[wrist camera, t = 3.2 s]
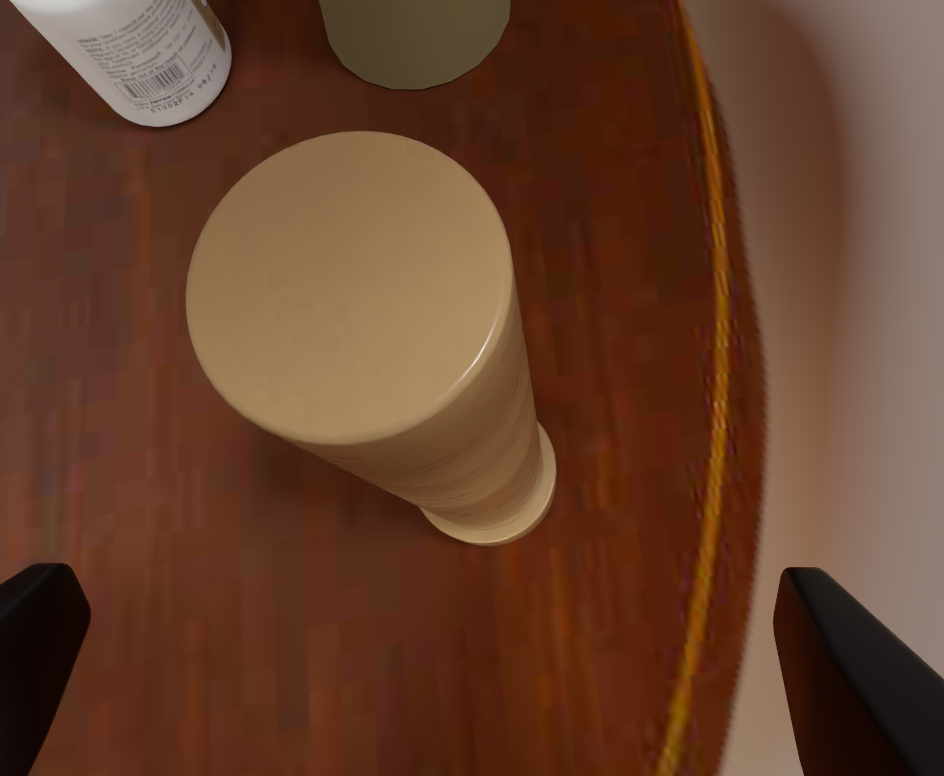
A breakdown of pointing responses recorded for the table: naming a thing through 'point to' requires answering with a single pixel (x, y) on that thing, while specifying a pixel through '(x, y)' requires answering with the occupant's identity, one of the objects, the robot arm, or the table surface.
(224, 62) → the pill bottle
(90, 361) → the table surface
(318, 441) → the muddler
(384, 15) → the pepper shaker
